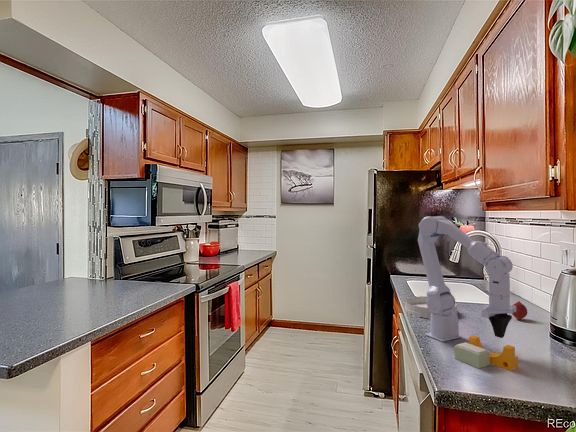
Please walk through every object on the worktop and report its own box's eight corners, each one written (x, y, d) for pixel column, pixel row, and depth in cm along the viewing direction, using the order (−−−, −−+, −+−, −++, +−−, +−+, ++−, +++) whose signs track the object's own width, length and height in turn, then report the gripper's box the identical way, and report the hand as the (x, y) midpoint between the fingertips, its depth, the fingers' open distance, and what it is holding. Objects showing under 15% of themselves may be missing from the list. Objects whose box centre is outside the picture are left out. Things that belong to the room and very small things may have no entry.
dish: (416, 321, 146) (415, 309, 146) (397, 307, 168) (397, 296, 168) (467, 320, 147) (467, 308, 147) (442, 306, 169) (442, 295, 169)
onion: (530, 322, 141) (530, 302, 141) (514, 321, 143) (514, 302, 143) (523, 318, 147) (523, 299, 147) (508, 317, 148) (508, 298, 148)
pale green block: (465, 355, 110) (465, 341, 110) (489, 365, 102) (489, 350, 102) (454, 358, 107) (454, 344, 107) (478, 368, 100) (478, 353, 100)
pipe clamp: (517, 367, 101) (517, 345, 101) (511, 371, 99) (510, 348, 99) (476, 354, 111) (476, 334, 111) (469, 357, 108) (468, 336, 108)
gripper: (497, 299, 104) (497, 344, 104) (526, 294, 110) (526, 336, 110) (475, 294, 110) (475, 337, 110) (503, 290, 117) (503, 330, 117)
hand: (499, 336), depth 111 cm, fingers closed
